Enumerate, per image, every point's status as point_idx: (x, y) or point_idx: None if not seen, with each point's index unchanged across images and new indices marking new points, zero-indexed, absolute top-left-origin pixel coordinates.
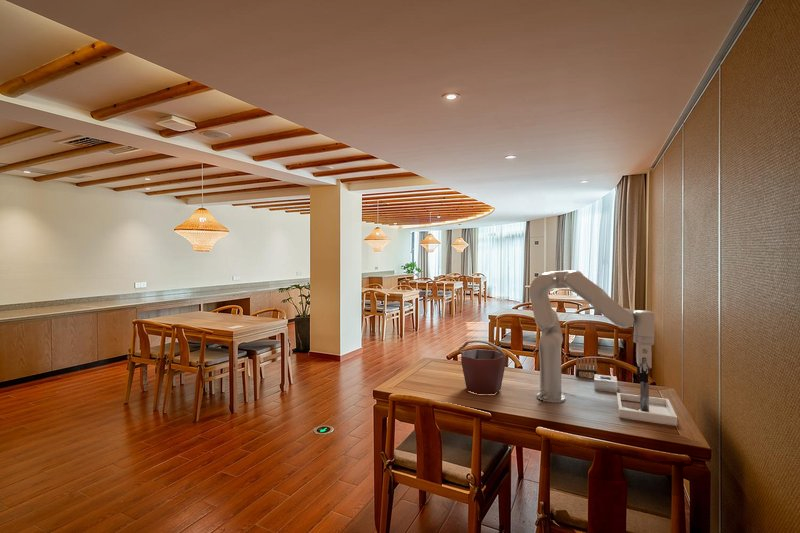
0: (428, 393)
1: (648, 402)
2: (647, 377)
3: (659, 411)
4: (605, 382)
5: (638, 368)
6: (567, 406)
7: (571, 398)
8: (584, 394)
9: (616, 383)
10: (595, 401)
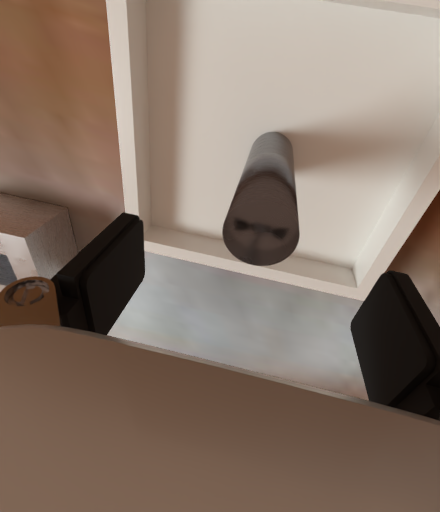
0: None
1: (288, 152)
2: (429, 324)
3: (278, 65)
4: (45, 275)
5: (109, 327)
6: (264, 370)
7: (187, 347)
8: (130, 310)
9: (30, 237)
10: (190, 299)
